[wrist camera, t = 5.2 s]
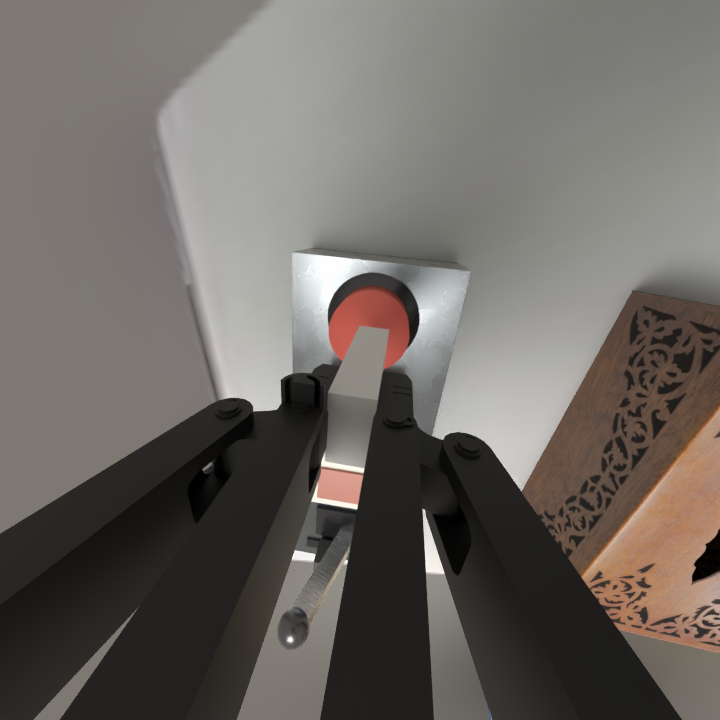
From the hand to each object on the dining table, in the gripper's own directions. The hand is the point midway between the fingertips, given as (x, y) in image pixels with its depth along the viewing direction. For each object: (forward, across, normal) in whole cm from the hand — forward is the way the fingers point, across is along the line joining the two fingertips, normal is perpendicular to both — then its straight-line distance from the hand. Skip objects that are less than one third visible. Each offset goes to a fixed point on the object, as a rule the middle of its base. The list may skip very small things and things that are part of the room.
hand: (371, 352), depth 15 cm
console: (+12, -1, -12) cm, 17 cm away
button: (+6, -1, 0) cm, 6 cm away
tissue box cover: (+13, +25, -10) cm, 30 cm away
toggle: (+5, 0, -22) cm, 23 cm away
